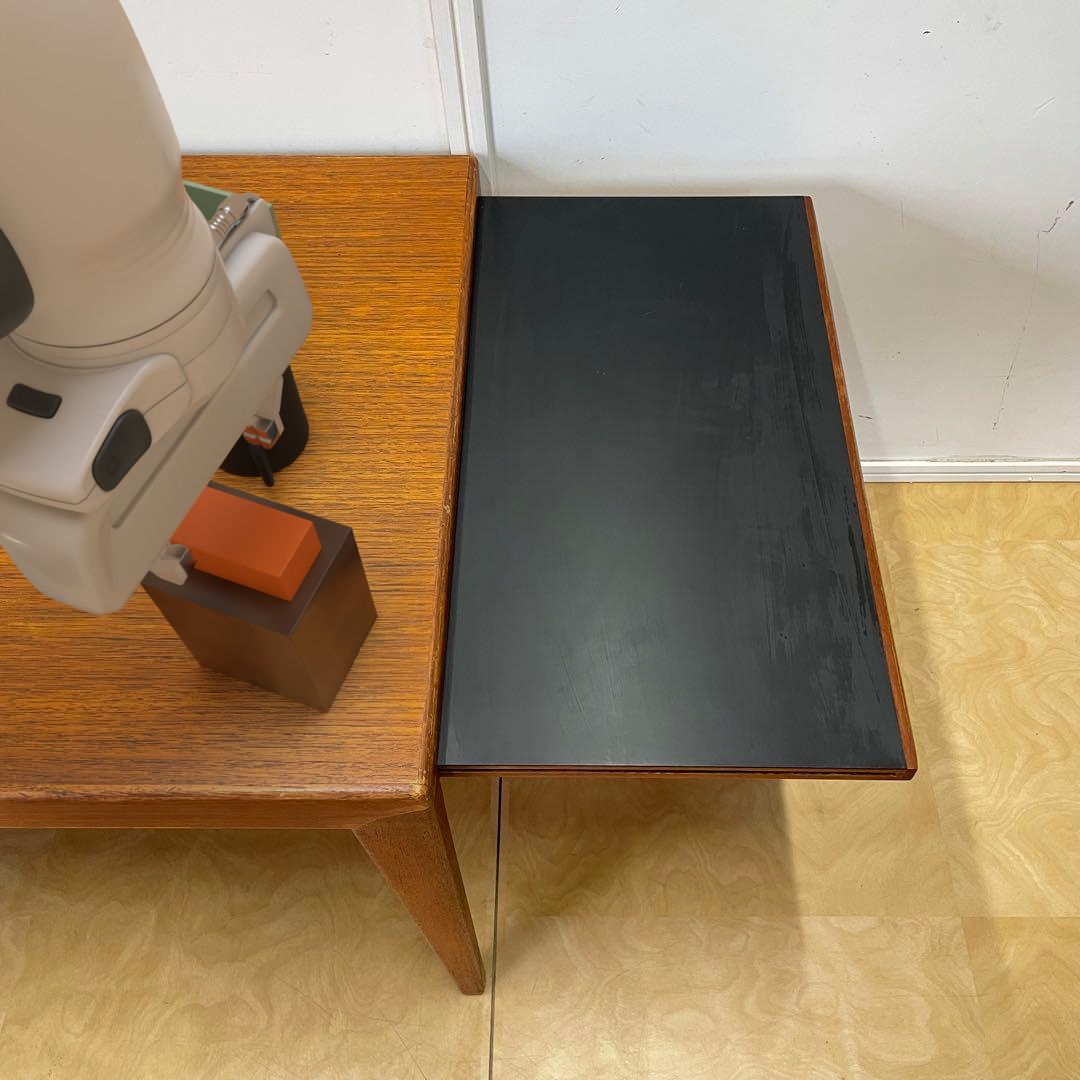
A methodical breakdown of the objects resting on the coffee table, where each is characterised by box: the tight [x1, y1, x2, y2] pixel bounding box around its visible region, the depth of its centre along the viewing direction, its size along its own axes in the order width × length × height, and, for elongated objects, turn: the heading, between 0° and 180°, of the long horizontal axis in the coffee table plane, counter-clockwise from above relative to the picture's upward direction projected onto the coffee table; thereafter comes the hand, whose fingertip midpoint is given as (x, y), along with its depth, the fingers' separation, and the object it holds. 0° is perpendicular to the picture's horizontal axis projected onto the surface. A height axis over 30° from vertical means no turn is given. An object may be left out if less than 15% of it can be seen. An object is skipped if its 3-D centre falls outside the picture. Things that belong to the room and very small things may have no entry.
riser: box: [139, 480, 378, 713], centre depth 61 cm, size 10×8×12 cm
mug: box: [219, 363, 310, 488], centre depth 70 cm, size 8×12×10 cm
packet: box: [169, 486, 322, 602], centre depth 54 cm, size 8×4×3 cm, turn 70°
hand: (224, 501), depth 51 cm, fingers open, 8 cm apart
